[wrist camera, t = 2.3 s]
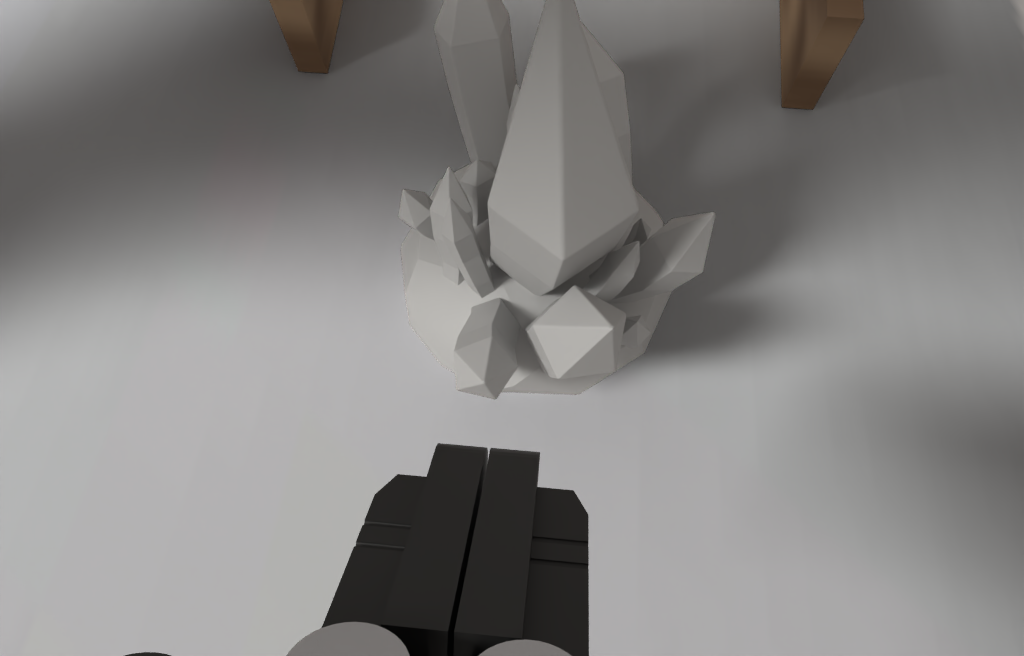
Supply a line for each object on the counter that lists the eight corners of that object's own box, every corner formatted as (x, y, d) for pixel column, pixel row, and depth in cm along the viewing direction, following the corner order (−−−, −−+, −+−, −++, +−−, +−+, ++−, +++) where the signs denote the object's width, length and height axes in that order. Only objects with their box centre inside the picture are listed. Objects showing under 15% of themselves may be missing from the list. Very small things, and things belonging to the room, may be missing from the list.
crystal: (601, 78, 32) (661, -350, 18) (726, 383, 28) (936, 135, 13) (359, 142, 31) (222, -255, 17) (448, 467, 27) (362, 295, 13)
